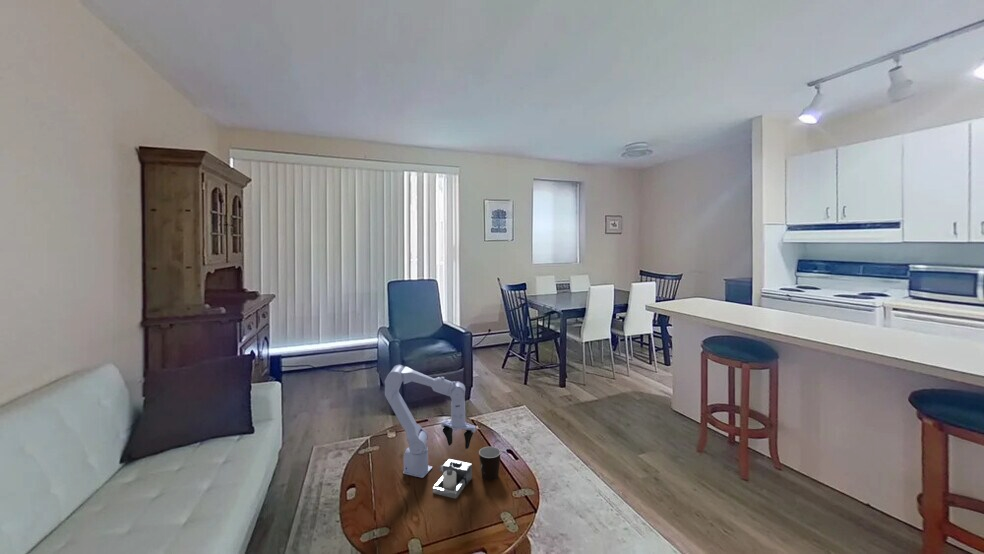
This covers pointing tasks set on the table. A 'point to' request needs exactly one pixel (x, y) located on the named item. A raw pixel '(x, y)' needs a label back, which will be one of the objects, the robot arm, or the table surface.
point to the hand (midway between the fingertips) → (458, 446)
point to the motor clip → (462, 477)
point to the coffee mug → (489, 462)
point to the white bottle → (449, 480)
